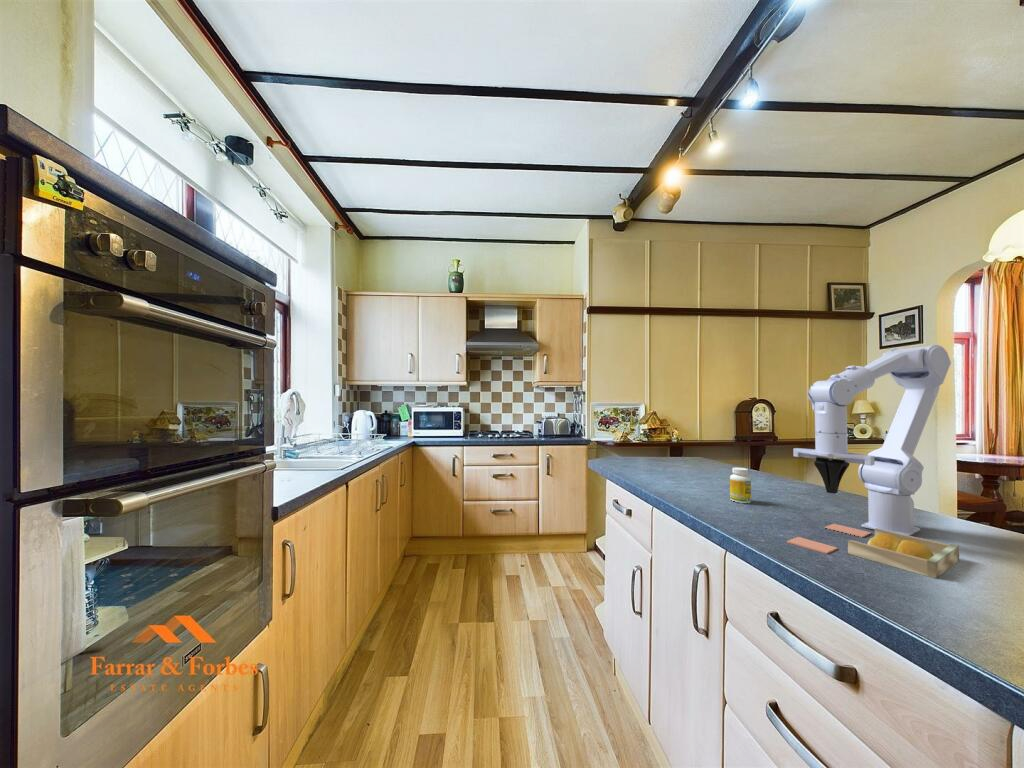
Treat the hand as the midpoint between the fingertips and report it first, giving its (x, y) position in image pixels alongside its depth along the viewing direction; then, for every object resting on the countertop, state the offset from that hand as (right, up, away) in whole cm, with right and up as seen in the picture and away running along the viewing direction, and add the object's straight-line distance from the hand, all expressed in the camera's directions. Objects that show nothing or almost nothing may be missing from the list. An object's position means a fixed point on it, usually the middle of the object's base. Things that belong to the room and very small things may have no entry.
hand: (832, 492), depth 90 cm
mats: (-3, -9, -4) cm, 10 cm away
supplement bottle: (-6, -10, +26) cm, 28 cm away
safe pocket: (+3, -9, -14) cm, 16 cm away
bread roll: (+2, -9, -13) cm, 16 cm away
